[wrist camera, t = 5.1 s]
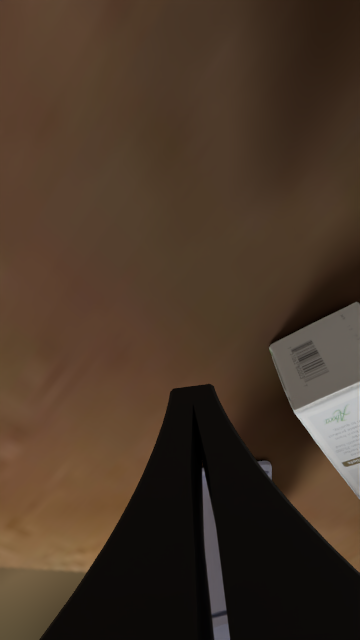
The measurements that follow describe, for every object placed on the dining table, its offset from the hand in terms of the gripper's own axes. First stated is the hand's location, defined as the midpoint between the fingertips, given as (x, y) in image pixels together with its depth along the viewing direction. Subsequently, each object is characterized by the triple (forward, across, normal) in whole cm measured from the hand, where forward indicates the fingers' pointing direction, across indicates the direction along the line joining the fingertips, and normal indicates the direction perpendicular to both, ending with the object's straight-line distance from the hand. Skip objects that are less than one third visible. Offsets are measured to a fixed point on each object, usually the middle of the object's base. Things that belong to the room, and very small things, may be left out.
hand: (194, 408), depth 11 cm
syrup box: (+5, -7, +2) cm, 9 cm away
